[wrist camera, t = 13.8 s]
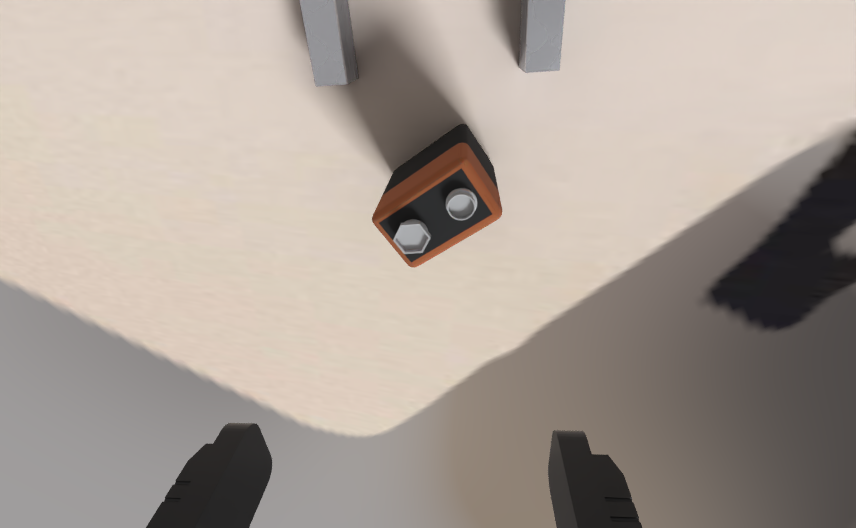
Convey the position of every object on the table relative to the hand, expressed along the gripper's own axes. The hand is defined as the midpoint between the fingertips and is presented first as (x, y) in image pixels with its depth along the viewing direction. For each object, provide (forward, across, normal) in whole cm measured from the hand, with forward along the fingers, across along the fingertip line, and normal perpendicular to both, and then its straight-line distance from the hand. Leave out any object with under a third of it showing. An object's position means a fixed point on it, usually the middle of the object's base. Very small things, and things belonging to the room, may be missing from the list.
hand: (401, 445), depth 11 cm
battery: (+24, 0, 0) cm, 24 cm away
